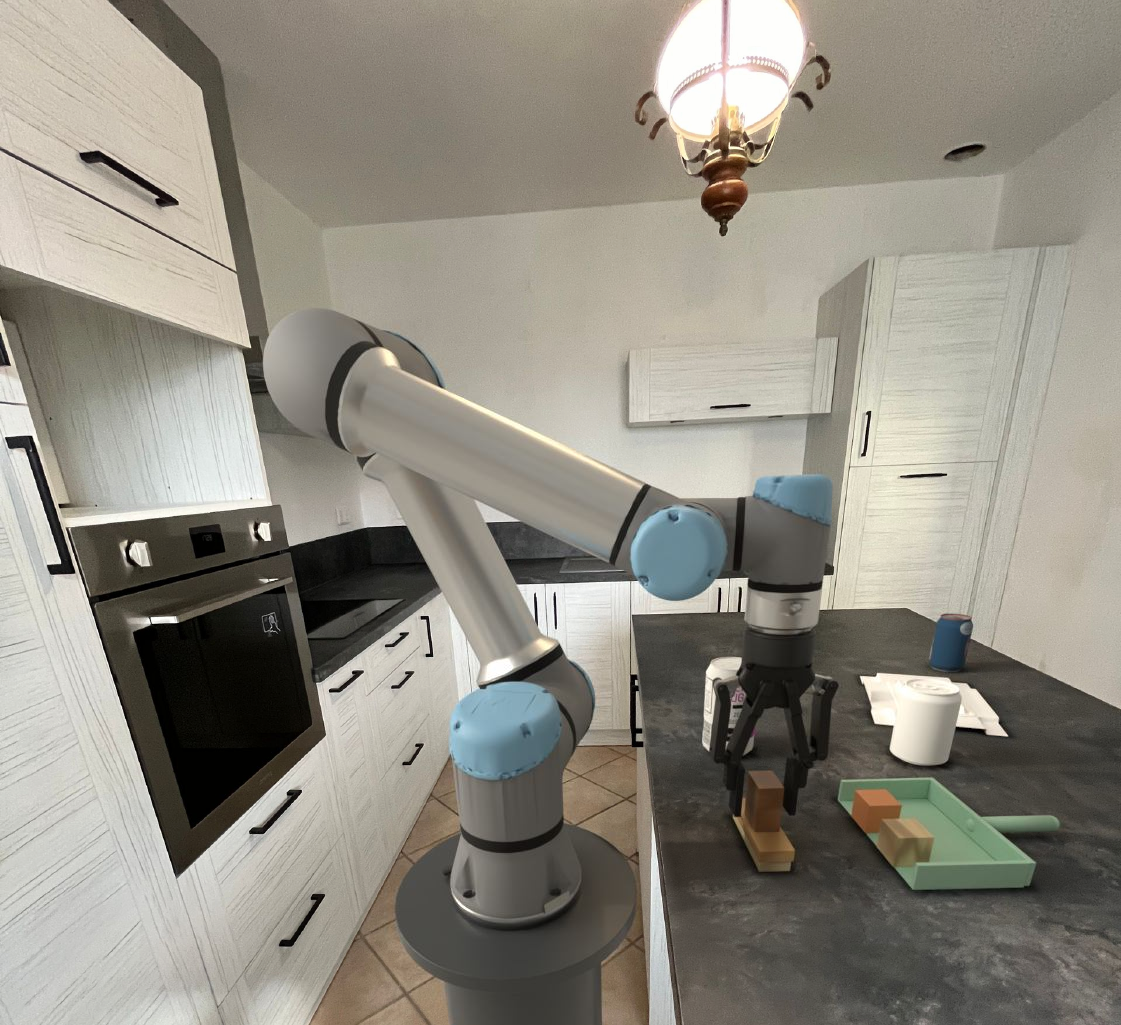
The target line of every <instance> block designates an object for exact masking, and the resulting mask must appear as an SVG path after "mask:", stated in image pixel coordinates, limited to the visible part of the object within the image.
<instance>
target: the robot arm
mask: <svg viewBox="0 0 1121 1025" xmlns="http://www.w3.org/2000/svg"><path fill="white" fill-rule="evenodd" d="M262 369H263V377H264V381H265V384H266V388H267V392H268V393H269V396H270V397H271V400H272V402H273V403H274V405H275V407H276V408H277V409H278V411H279V412H280V413H281V415H282V416H283V417H284V418H285V419H286V420H287V421H288V422H289V423H290V424H292V425H293V426H294V428H296V429H298V430H300V431H301V432H302V433H305V434H307V435H308V436H310V437H313V438H315V439H318V440H320V441H323V442H325V443H326V444H330V445H332V446H334V447H337V448H339V449H341V450H343V451H345V452H347V453H349V454H351V455H353V456H354V458H355V460H356V462H357V463H358V465H359V467H360V469H361V471H362V473H363V475H364V476H366V477H367V478H370V479H371V480H374V481H377V482H380V483H382V484H383V485H384V486H385V488H386V490H387V492H388V494H389V496H390V498H391V499H392V501H393V502H394V505H395V506H396V509H397V511H398V513H399V514H400V516H401V518H402V520H403V522H404V524H405V526H406V528H407V529H408V531H409V533H410V535H411V537H412V538H413V540H414V542H415V544H416V546H417V548H418V549H419V552H420V553H421V555H422V557H423V559H424V561H425V563H426V565H427V567H428V569H429V571H430V572H431V574H432V576H433V578H434V580H435V582H436V583H437V585H438V587H439V589H440V591H441V593H442V595H443V596H444V598H445V600H446V603H447V604H448V606H449V608H450V610H451V612H452V614H453V615H454V617H455V620H456V621H457V623H458V624H459V627H460V628H461V630H462V632H463V634H464V636H465V638H466V640H467V642H468V644H469V645H470V648H471V649H472V651H473V653H474V655H475V656H476V659H477V660H478V663H479V666H480V668H479V670H478V675H477V677H476V680H475V682H476V685H477V686H478V689H475V690H473V691H471V692H469V693H468V694H467V695H464V697H462V698H461V699H460V700H459V701H458V702H457V704H456V705H455V707H454V708H453V709H452V711H451V714H450V719H449V738H448V747H449V753H450V757H451V762H452V769H453V779H454V786H455V795H456V804H457V805H456V806H457V812H458V820H459V829H460V833H461V837H460V840H459V844H458V848H457V852H456V856H455V860H454V864H452V865H450V866H448V867H445V868H443V870H442V871H443V874H444V875H445V876H447V875H449V874H451V878H450V886H451V894H452V900H453V903H454V905H455V907H456V909H457V910H458V911H459V913H460V914H461V915H462V916H463V917H465V918H466V919H467V920H469V921H471V922H472V923H474V924H477V925H479V926H482V927H485V928H489V929H494V930H503V931H516V930H525V929H530V928H534V927H538V926H541V925H544V924H547V923H549V922H551V921H553V920H555V919H557V918H558V917H560V916H561V915H563V914H564V913H565V912H567V911H568V910H569V909H570V908H571V907H572V906H573V904H574V903H575V902H576V900H577V899H578V897H579V894H580V891H581V887H582V876H581V866H580V863H579V859H578V857H577V855H576V852H575V850H574V847H573V845H572V843H571V840H570V838H569V835H568V833H567V831H566V828H565V826H564V823H565V821H564V820H565V818H564V789H563V787H564V786H563V780H564V779H563V778H564V772H565V770H566V768H567V766H568V764H569V762H570V760H571V758H572V757H573V755H574V753H575V752H576V750H577V748H578V747H579V744H580V743H581V741H582V739H584V737H585V735H586V734H587V733H588V732H589V729H590V727H591V724H592V722H593V719H594V713H595V709H596V708H595V707H596V693H595V687H594V685H593V682H592V680H591V678H590V676H589V675H588V673H587V672H586V671H585V669H584V668H583V667H581V665H580V664H578V663H577V662H576V661H574V660H573V661H572V660H570V659H569V658H568V657H567V655H566V653H565V651H564V649H563V647H562V644H561V643H560V642H559V640H558V639H556V638H554V637H550V636H549V635H545V634H544V633H542V632H541V629H540V628H539V626H538V624H537V622H536V619H535V618H534V616H533V614H532V612H531V610H530V608H529V606H528V603H527V602H526V600H525V598H524V596H523V595H522V592H521V590H520V588H519V586H518V584H517V582H516V580H515V578H514V576H513V574H512V572H511V571H510V568H509V567H508V564H507V562H506V560H505V558H504V557H503V554H502V552H501V550H500V548H499V546H498V544H497V542H496V541H495V538H494V536H493V534H492V533H491V531H490V528H489V527H488V526H489V525H488V524H487V523H486V520H485V519H484V516H483V515H482V512H481V510H480V509H479V506H478V505H477V503H476V501H477V502H479V503H481V504H483V505H485V506H487V507H490V508H492V509H494V510H496V511H498V512H500V513H502V514H505V515H507V516H508V517H510V518H513V519H514V520H517V521H518V522H521V523H524V524H526V525H528V526H529V527H532V528H534V529H536V530H538V531H540V532H542V533H544V534H547V535H549V536H551V537H553V538H555V539H557V540H560V541H562V542H564V543H566V544H568V545H570V546H571V547H575V548H577V549H578V550H581V551H583V552H585V553H587V554H589V555H591V556H593V557H596V558H597V559H600V560H602V561H604V562H606V563H608V564H610V565H612V566H613V567H615V568H618V569H619V570H621V571H624V572H626V573H628V574H630V575H631V576H634V577H635V578H636V580H637V581H638V583H639V584H640V585H641V587H642V588H643V589H644V590H645V591H646V592H648V593H649V594H651V595H652V596H653V597H656V598H658V599H661V600H664V601H670V602H680V601H686V600H690V599H693V598H695V597H697V596H700V595H702V593H704V592H705V591H706V590H708V589H709V588H710V587H711V586H712V584H713V583H714V582H715V580H717V578H719V577H720V575H721V573H722V572H730V571H731V572H741V571H743V572H744V571H747V576H748V577H747V583H746V584H747V585H746V586H747V587H746V597H745V608H744V617H743V618H744V619H743V620H744V621H745V622H746V624H748V625H746V626H745V628H744V629H743V633H742V648H741V658H742V659H741V666H740V668H739V669H738V671H737V673H736V676H732V677H729V678H726V679H723V680H722V679H721V678H719V677H717V678H715V679H714V680H713V681H712V684H713V688H714V692H715V696H716V698H715V706H714V714H713V722H712V730H711V739H710V747H709V751H708V752H709V754H710V756H711V758H712V760H713V762H714V763H715V764H717V765H719V764H722V765H723V774H722V775H723V776H722V783H723V785H724V787H725V789H726V791H729V800H728V807H729V808H730V811H731V813H732V816H733V815H734V817H741V810H742V799H743V798H744V787H745V775H746V768H745V767H744V765H743V763H742V762H741V760H742V759H743V756H744V755H743V754H744V751H745V749H746V747H747V744H748V742H749V739H750V737H751V735H752V732H753V730H754V728H755V729H756V725H757V723H758V721H759V719H760V718H762V715H763V713H764V711H765V710H769V709H773V708H778V709H783V713H784V717H785V722H786V726H787V731H788V735H789V740H790V744H791V749H792V753H793V755H794V756H786V760H785V769H784V778H783V784H782V785H783V787H784V796H783V805H782V808H783V809H784V811H785V812H786V813H787V815H788V816H789V817H794V816H796V815H797V814H796V813H797V804H798V796H799V789H805V788H806V787H807V784H808V776H809V770H811V769H813V768H814V765H815V763H814V762H816V761H821V762H823V761H825V760H827V758H828V754H829V743H830V731H831V718H832V704H833V700H834V697H835V695H836V693H837V691H838V689H839V686H840V685H839V682H838V681H837V680H835V679H834V678H833V677H831V676H830V675H829V674H827V673H823V674H817V673H815V671H814V668H813V663H814V659H815V652H816V643H817V642H816V641H817V634H818V633H817V631H816V630H815V629H814V627H815V626H817V625H818V624H819V617H820V611H821V610H820V609H821V601H822V595H823V594H822V593H823V584H824V576H825V568H826V563H827V562H826V561H827V555H828V546H829V541H830V540H829V539H830V534H831V527H832V524H833V521H832V508H833V507H832V506H833V495H834V494H833V493H834V484H833V481H832V480H831V478H830V477H828V476H827V475H825V474H820V473H819V474H818V473H814V474H811V473H810V474H786V475H785V474H782V475H763V476H759V477H758V478H757V480H756V481H755V483H754V490H753V491H752V495H745V496H738V497H683V498H680V497H679V496H676V495H674V494H672V493H669V492H668V491H665V490H663V489H660V488H659V487H655V486H653V485H650V484H649V483H646V481H643V480H641V479H638V478H636V477H634V476H632V475H629V474H627V473H625V472H623V471H621V470H619V469H616V468H615V467H612V466H610V465H608V464H607V463H603V462H602V461H600V460H597V459H595V458H593V457H591V456H589V455H587V454H584V453H583V452H580V451H578V450H575V449H574V448H571V447H569V446H567V445H565V444H562V443H561V442H558V441H556V440H555V439H553V438H550V437H549V436H548V437H547V436H546V435H544V434H541V433H539V432H537V431H535V430H533V429H530V428H528V427H526V426H524V425H522V424H521V423H518V422H515V421H513V420H511V419H509V418H507V417H505V416H502V415H501V414H498V413H496V412H495V411H491V410H489V409H488V408H486V407H483V406H481V405H478V404H477V403H475V402H473V401H470V400H468V399H467V398H463V397H461V396H459V395H458V394H455V393H453V392H451V391H449V390H447V389H446V385H445V382H444V379H443V377H442V375H441V372H440V371H439V368H438V367H437V365H436V364H435V362H434V361H433V359H432V358H431V357H430V356H429V355H428V354H427V353H426V352H425V351H424V350H423V349H422V348H420V347H419V346H418V345H416V344H415V343H413V342H412V341H411V340H410V339H408V338H407V337H404V336H403V335H401V334H398V333H396V332H394V331H390V330H384V329H380V328H377V327H375V326H373V325H371V324H368V323H365V322H363V321H361V320H359V319H356V318H353V317H351V316H349V315H347V314H345V313H342V312H339V311H336V310H333V309H330V308H325V307H324V308H321V307H306V308H301V309H299V310H295V311H293V312H291V313H289V314H288V315H286V316H284V317H282V319H281V320H280V321H279V322H277V323H276V324H275V326H274V327H273V328H272V330H271V332H270V333H269V335H268V337H267V339H266V342H265V345H264V349H263V357H262ZM738 686H741V688H742V689H743V691H744V692H745V694H746V696H745V699H744V701H743V707H742V710H741V713H740V715H739V718H738V720H737V723H736V725H735V728H734V730H733V732H732V735H731V737H730V740H729V742H728V745H727V747H726V741H727V734H728V727H729V719H730V712H731V698H732V697H734V695H735V690H736V688H737V687H738ZM810 687H811V691H812V698H811V713H810V726H809V741H808V738H807V733H806V728H805V724H804V719H803V709H802V704H801V703H802V702H801V699H800V698H801V697H802V696H803V695H804V694H805V692H806V691H807V690H808V689H809V688H810ZM808 742H809V743H808ZM725 749H726V750H725Z"/></svg>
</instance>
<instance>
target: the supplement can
mask: <svg viewBox="0 0 1121 1025" xmlns="http://www.w3.org/2000/svg"><path fill="white" fill-rule="evenodd" d="M741 659H742V657H738V656H722V657H717V658H714V659H712V660H711V661H710V664H709V666H708V667H707V669H706V671H705V683H704V684H705V685H704V702H703V720H702V722H703V723H702V742H701V743H702V746H703V747H704V748H705V749H706V750H707V751H708V752H709V747H710V739H711V730H712V722H713V714H714V706H715V698H716V696H715V692H714V688H713V684H712V681H713V680H714V679H715V678H717V677H719V678H721V679H722V680H723V679H726V678H729V677H732V676H736V673H737V671H738V669H739V668H740V666H741ZM745 696H746V694H745V692H744V691H743V689H742V688H741V686H738V687H737V688H736V690H735V695H734V697H732V698H731V712H730V719H729V727H728V734H727V741H726V747H727V745H728V742H729V740H730V737H731V735H732V732H733V730H734V728H735V725H736V723H737V720H738V718H739V715H740V713H741V710H742V707H743V701H744V699H745ZM755 730H756V727H755V728H754V730H753V732H752V735H751V737H750V739H749V742H748V744H747V747H746V749H745V751H744V754H743V756H746V755H747V754H748V753H749V752H751V751H752V750H753V748H754V740H755V732H756V731H755ZM725 750H726V749H725Z"/></svg>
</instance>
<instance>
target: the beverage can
mask: <svg viewBox="0 0 1121 1025" xmlns="http://www.w3.org/2000/svg"><path fill="white" fill-rule="evenodd" d="M959 692H960V689H959V687H957V686H956V685H954V684H951V683H948V682H945V681H941V680H935V679H911V680H908V681H906V683H905V686H903V687H902V689H901V690H900V695H899V700H898V706H897V711H896V716H895V722H894V726H893V728H892V733H891V739H890V744H889V751H890V752H891V754H892V755H893V756H894V757H896V758H898V759H900V760H902V761H903V762H906V763H909V764H911V765H917V766H923V767H924V766H925V767H926V766H928V767H929V766H938V765H943V764H945V763H946V762H948V761H949V757H950V753H951V749H952V744H953V740H954V736H955V731H956V727H957V726H956V723H957V719H958V714H959V710H960V706H961V701H962V697H961V694H960V693H959Z"/></svg>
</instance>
